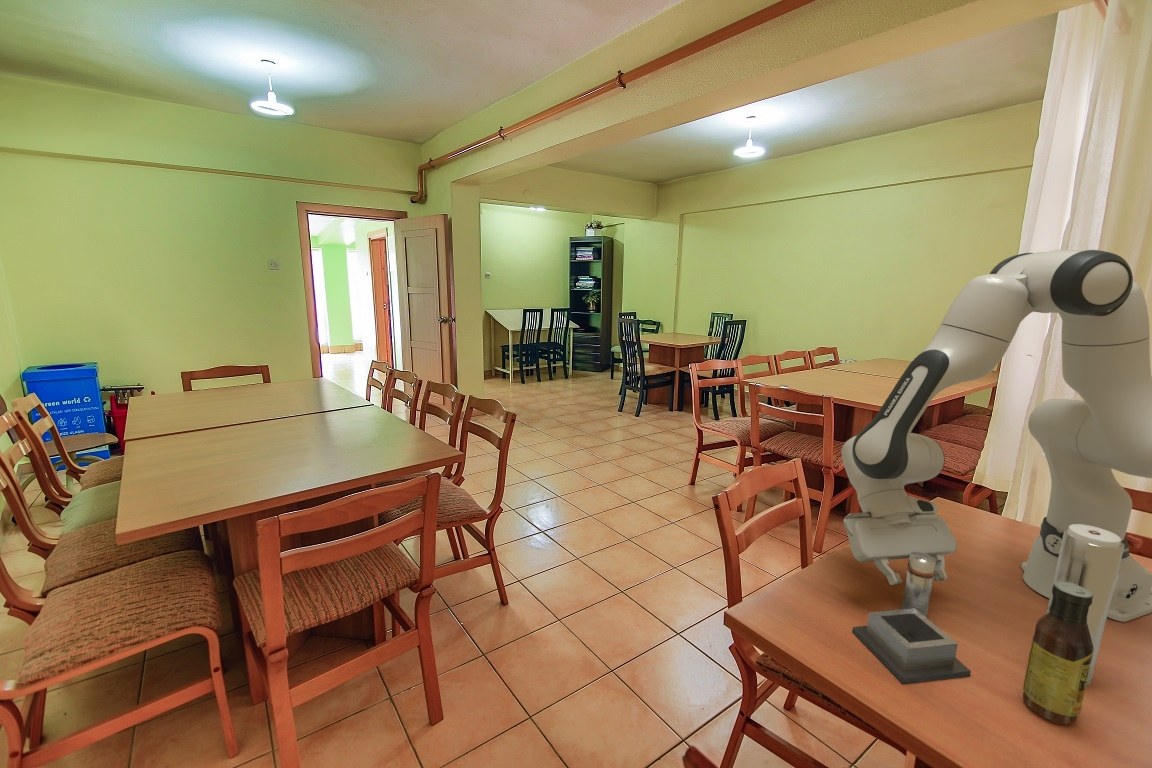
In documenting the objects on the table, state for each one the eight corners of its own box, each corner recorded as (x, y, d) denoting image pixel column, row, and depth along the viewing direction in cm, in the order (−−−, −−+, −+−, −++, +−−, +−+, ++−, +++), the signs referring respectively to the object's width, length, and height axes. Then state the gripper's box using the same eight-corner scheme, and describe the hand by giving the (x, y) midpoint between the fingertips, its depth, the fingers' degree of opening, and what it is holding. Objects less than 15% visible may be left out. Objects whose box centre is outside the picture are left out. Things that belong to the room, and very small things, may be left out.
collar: (911, 625, 92) (915, 602, 91) (970, 676, 80) (975, 649, 79) (852, 631, 90) (855, 607, 89) (902, 684, 78) (906, 656, 77)
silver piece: (1102, 689, 77) (1139, 544, 72) (1053, 683, 78) (1086, 540, 73) (1070, 659, 83) (1102, 523, 78) (1026, 653, 85) (1054, 519, 80)
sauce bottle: (1083, 735, 70) (1115, 611, 65) (1025, 715, 73) (1051, 595, 69) (1069, 702, 75) (1097, 585, 71) (1016, 684, 78) (1039, 572, 74)
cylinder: (914, 605, 97) (923, 550, 95) (932, 620, 93) (942, 563, 91) (895, 607, 97) (903, 552, 94) (912, 622, 93) (921, 564, 90)
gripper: (849, 508, 97) (878, 582, 89) (943, 502, 99) (979, 574, 92) (832, 518, 102) (859, 589, 95) (921, 513, 105) (954, 581, 97)
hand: (919, 582), depth 93 cm, fingers open, 8 cm apart
